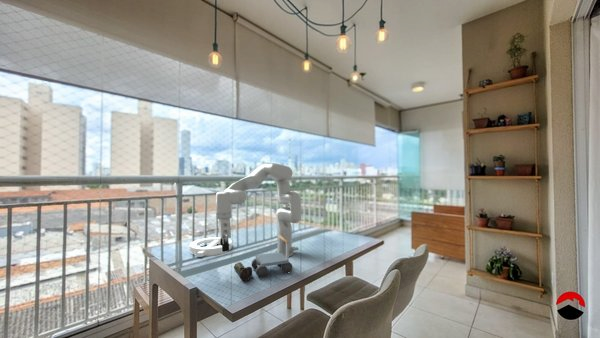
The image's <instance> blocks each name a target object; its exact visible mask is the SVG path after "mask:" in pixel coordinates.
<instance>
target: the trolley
mask: <svg viewBox="0 0 600 338" xmlns="http://www.w3.org/2000/svg"><path fill="white" fill-rule="evenodd" d="M281 239H282V240H283V241H284V242H285V243H286V257H285V256H284V255H283V254H282V253H281ZM275 252H276V251H275ZM275 252H270V253H263V254H256V255H255V258H253V259H252V260H251V268H252V270H255V274H256V276H257V277H258V278H259V279H264V278H266V277H267V276H268V273H269V269H268V267H271V266H278V267H280V270H281V271H282V273H284V274H285V273H288V272H290V273H291V272H292V270H293V264H292V263H291V261H290V260H289V257H290V256H289V242H288V241H287V240H286V239H284V238H283V237H282V236H281V235H279V252H276V253H275ZM288 274H289V273H288Z"/></svg>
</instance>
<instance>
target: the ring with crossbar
mask: <svg viewBox="0 0 600 338" xmlns="http://www.w3.org/2000/svg"><path fill="white" fill-rule="evenodd" d="M220 238H221V237H219V236H216V237H215V236H212V237H205V238H199V239H195V240H194V241H192V242H190V243H189V252H190V251H191V252H192V253H193V254H196V255H195V256H196V258H198V257H199V258H202V257H211V256H217V255H222V254H225V253H228V251H224V252H223V251H222V246H221V245H217V244H220ZM228 240H229V251H230V250H231V249H232V248H233V247H232V245H233V244H232V243H233V242H232V241H233V240H232V239H231V238H228ZM202 243H210V244H209V245H207V246H203V247H200V246H198V245H200V244H202ZM193 254H192V255H193Z"/></svg>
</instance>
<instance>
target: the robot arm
mask: <svg viewBox="0 0 600 338" xmlns="http://www.w3.org/2000/svg"><path fill="white" fill-rule="evenodd" d="M292 177H293V169H292V168H291V167H290V166H287V165H284V164H279V163H275V162H274V163H273V162H272V163H271V162H268V163H267V162H266V163H265V162H264V163H261V164H260V165H259V166H258V167H257V168H256V169H254V170H253V171H252V172H250V174H249V175H247V176H244V177H243V178H241V179H239V180H236V182H234V183H232V184H230V185H229V186H228V187H227V188H226V189H225V190H222V191H218V192H216V198H215V200H216V220H218V229H219V236H220V237H221V238H220V245H221V246H222V251H223V252H224V251H227V252H230V250H229V240H228V239H231V238H232V231H231V229H232V227H231V226H232V225H231V219H232V217H233V212H232V210H233V207H232V205H242V204H244V203H245V202H246V201H247V199H248V197H247V193H246V192H245V191H248V190H252V189H253V190H254V189H256V188H258V187H259V186H260V185H261V184H262V183H264V181H265V180H267V179H268V178H271V179H273V180H274V181H275V184H276V186H277V189H276V190H277V201H278V204H279V205H281V207H279V208H278V209H277V210H276V221H277V249H276V251H274V253H276V252H279V235H281V236H282V237H283V238H284V239H286V240H287V241H288V242H289V257H292V256H293V255H294V254H295V251H299V247H295V246H293V245H292V243H293V241H292V240H293V238H292V235H293V232H292V231H293V228H292V224H298V223H300V221H301V219H302V203H301V202H302V200H301V199H302V198H301V196H300V194H299V193H298V192H296V191H291V183H290V181H289V180H290V179H291V178H292ZM291 223H292V224H291ZM281 253H282V254H283V255H284V256H285V257H286V243H285V242H284V241H283V240H282V239H281Z"/></svg>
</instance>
